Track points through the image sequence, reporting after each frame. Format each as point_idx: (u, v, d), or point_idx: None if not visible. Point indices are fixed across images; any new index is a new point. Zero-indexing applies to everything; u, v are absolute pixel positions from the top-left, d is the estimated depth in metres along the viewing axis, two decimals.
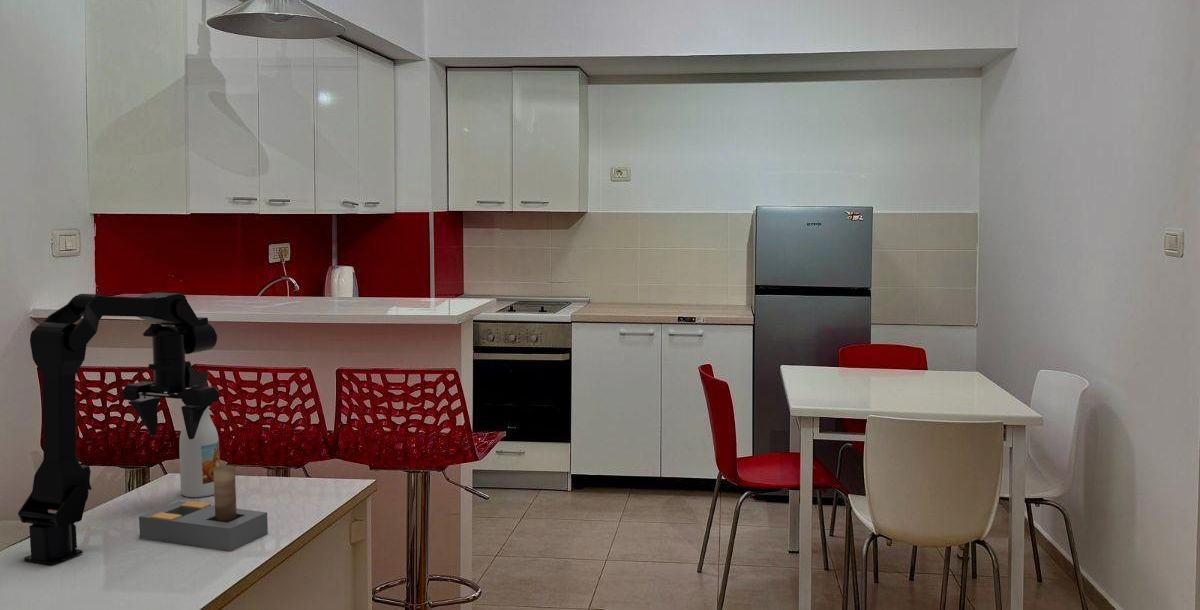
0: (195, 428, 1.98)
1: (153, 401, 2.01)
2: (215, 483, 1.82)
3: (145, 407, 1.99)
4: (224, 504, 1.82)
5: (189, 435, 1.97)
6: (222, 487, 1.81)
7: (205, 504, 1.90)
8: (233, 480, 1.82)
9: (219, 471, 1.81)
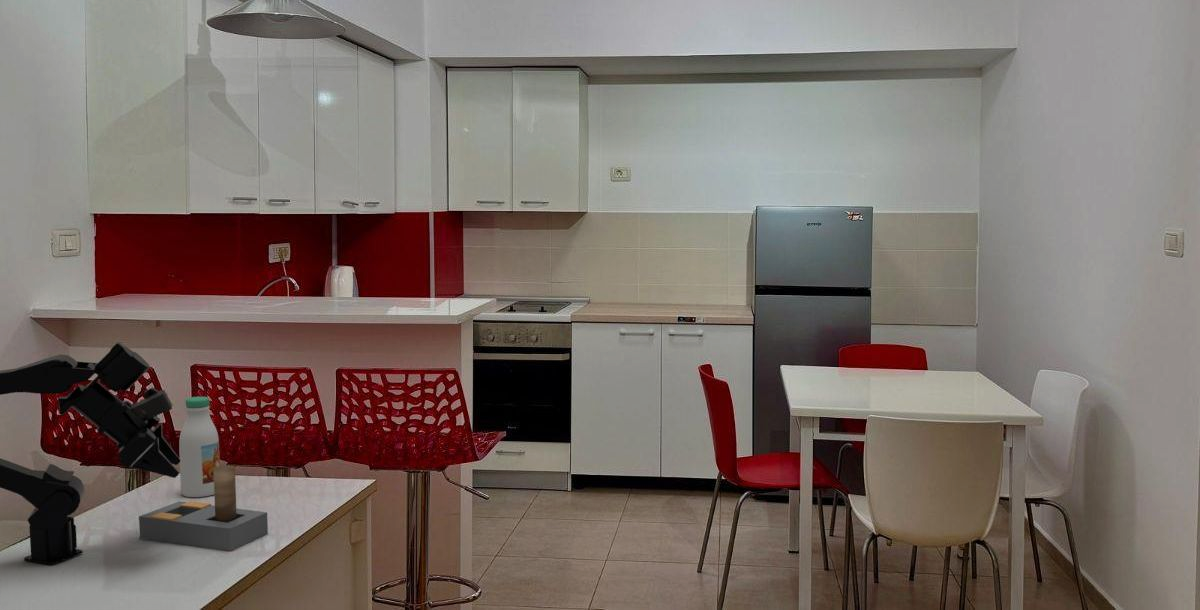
0: (168, 468, 1.74)
1: (153, 435, 1.83)
2: (215, 483, 1.82)
3: None
4: (224, 504, 1.82)
5: (169, 476, 1.75)
6: (222, 487, 1.81)
7: (205, 504, 1.90)
8: (233, 480, 1.82)
9: (219, 471, 1.81)
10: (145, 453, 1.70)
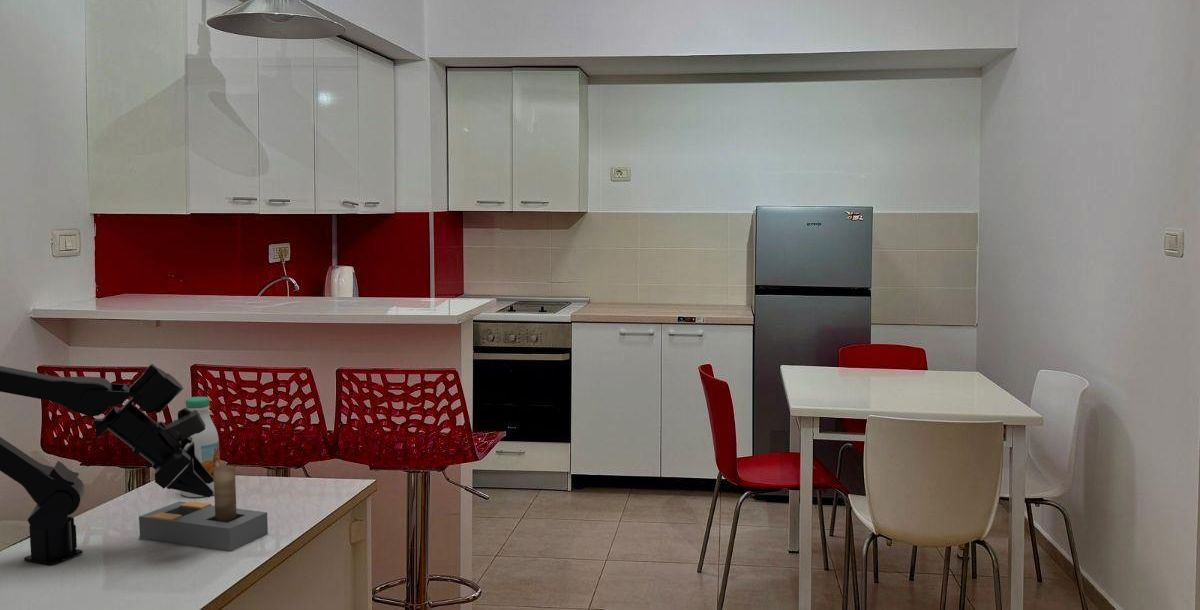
0: (203, 487, 1.77)
1: None
2: (215, 483, 1.82)
3: None
4: (224, 504, 1.82)
5: None
6: (222, 487, 1.81)
7: (205, 504, 1.90)
8: (233, 480, 1.82)
9: (219, 471, 1.81)
10: (181, 474, 1.73)
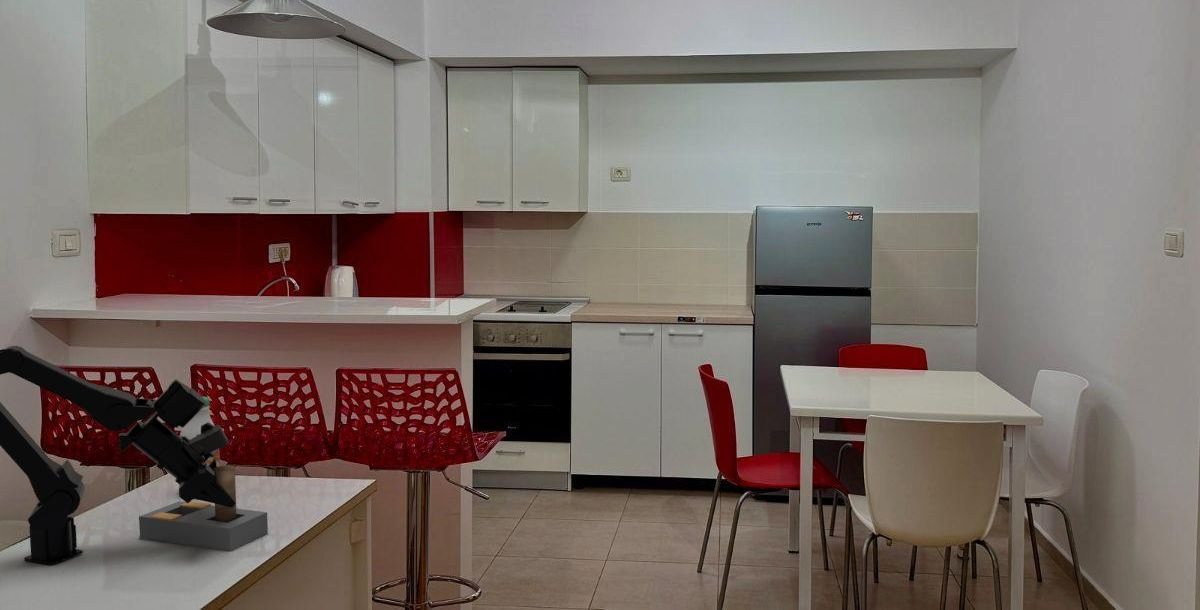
0: (226, 498, 1.81)
1: None
2: None
3: None
4: None
5: None
6: None
7: (205, 504, 1.90)
8: (233, 480, 1.82)
9: (219, 471, 1.81)
10: None
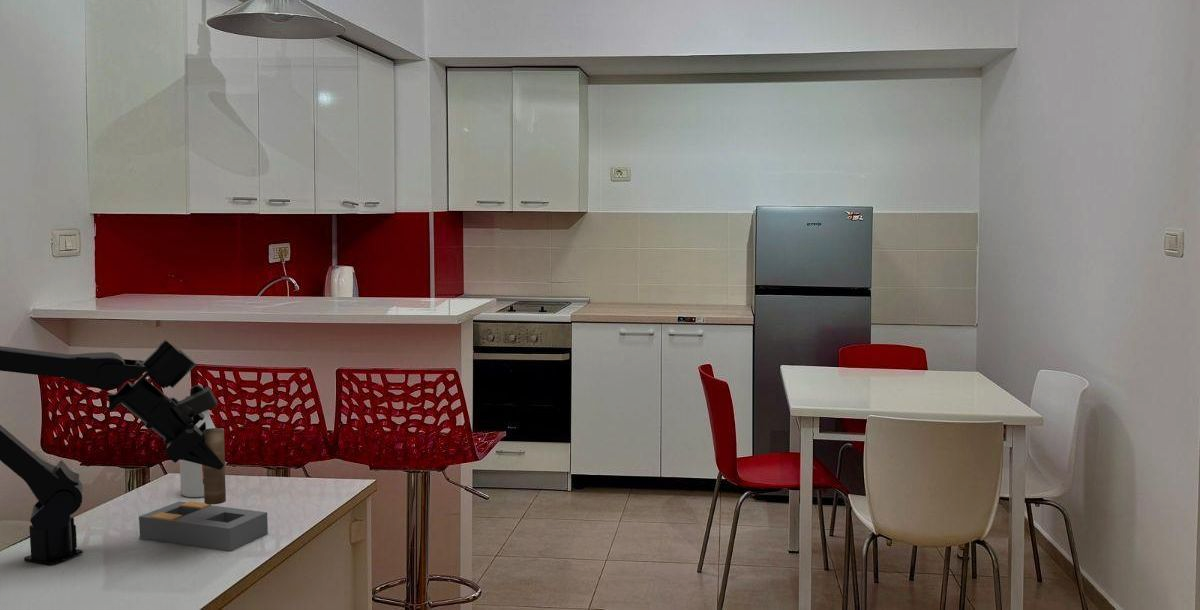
0: (214, 460, 1.80)
1: None
2: None
3: None
4: None
5: None
6: None
7: (205, 504, 1.90)
8: (222, 442, 1.82)
9: (208, 433, 1.81)
10: (192, 445, 1.77)
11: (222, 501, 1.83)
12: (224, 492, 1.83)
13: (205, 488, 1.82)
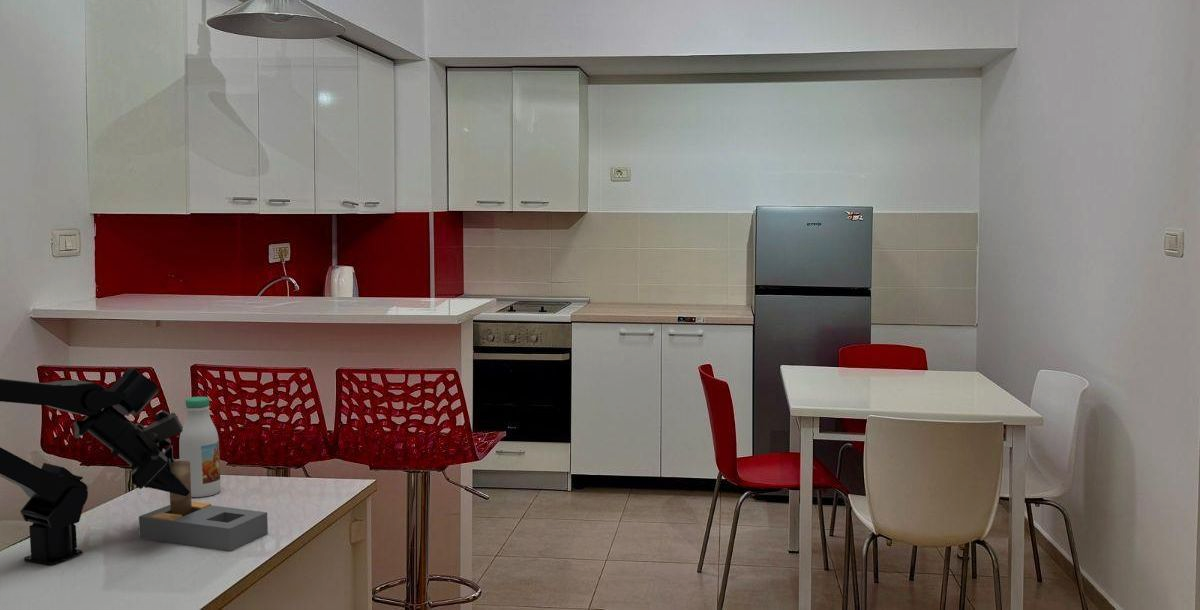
0: (180, 486, 1.82)
1: None
2: None
3: None
4: (179, 498, 1.85)
5: (180, 494, 1.83)
6: None
7: (205, 504, 1.90)
8: (188, 475, 1.86)
9: (174, 466, 1.84)
10: (158, 473, 1.78)
11: None
12: None
13: None
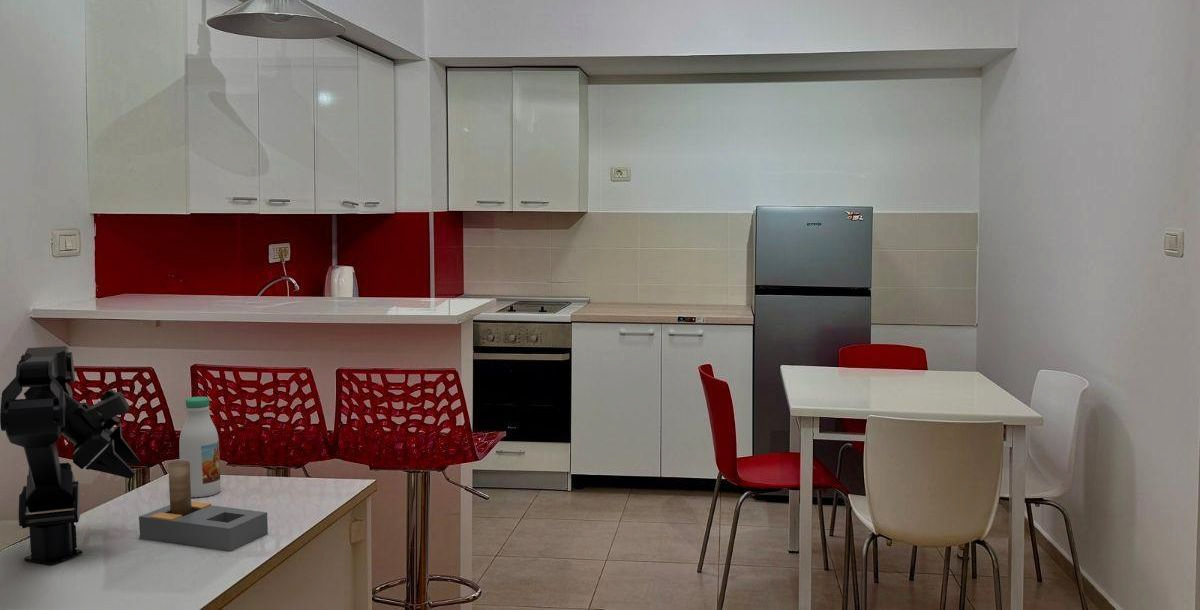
0: (124, 469, 1.78)
1: (112, 436, 1.86)
2: (170, 478, 1.85)
3: None
4: (179, 498, 1.85)
5: (125, 477, 1.79)
6: (177, 482, 1.85)
7: (205, 504, 1.90)
8: (188, 475, 1.86)
9: (173, 466, 1.84)
10: (99, 455, 1.74)
11: None
12: None
13: None
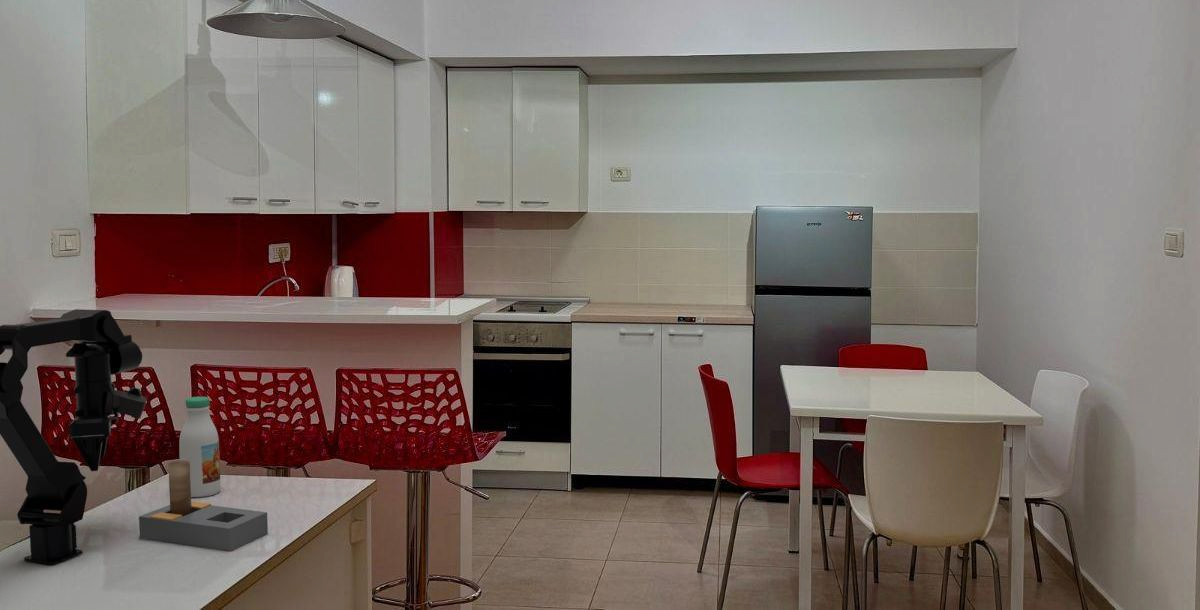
0: (95, 460, 1.80)
1: None
2: (170, 478, 1.85)
3: None
4: (179, 498, 1.85)
5: (88, 466, 1.80)
6: (177, 482, 1.85)
7: (205, 504, 1.90)
8: (188, 475, 1.86)
9: (173, 466, 1.84)
10: (92, 436, 1.77)
11: None
12: None
13: None
